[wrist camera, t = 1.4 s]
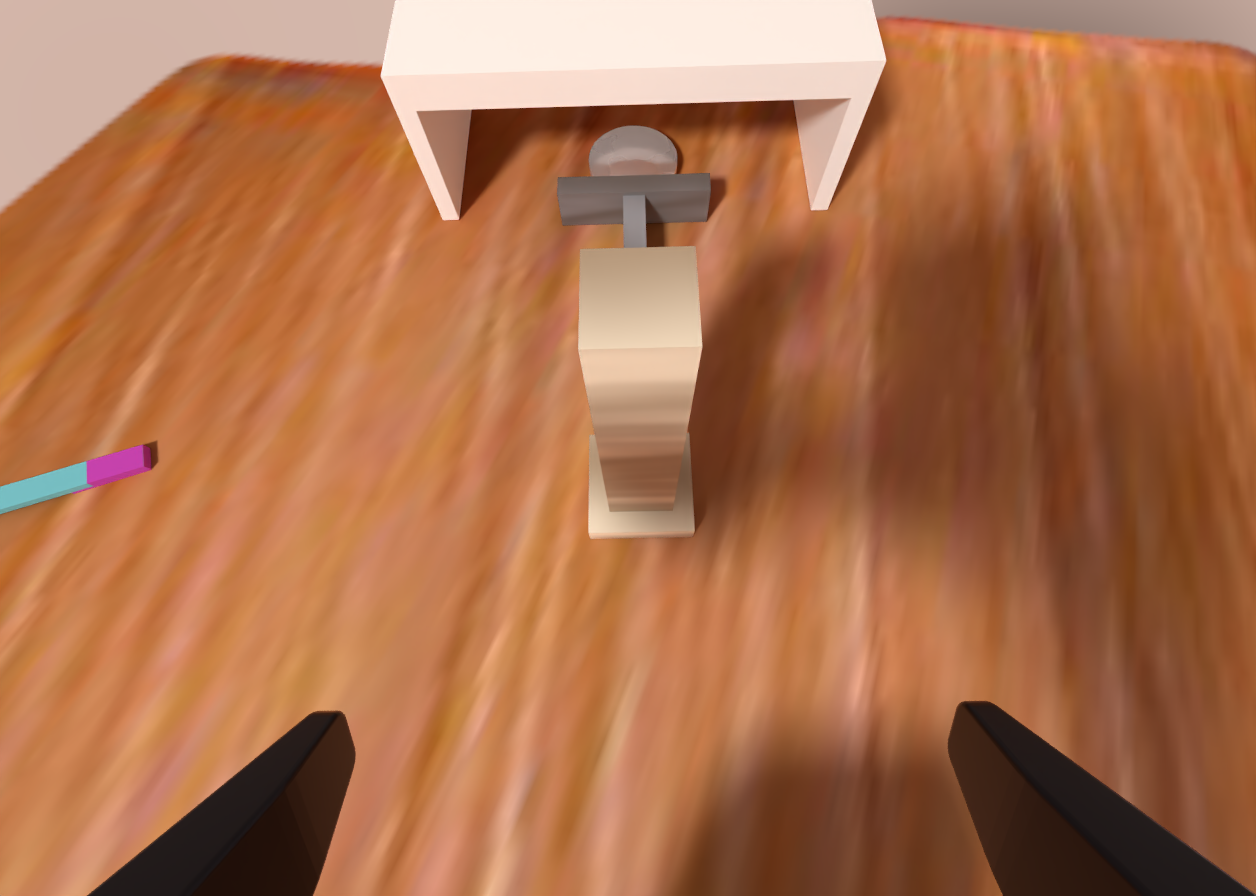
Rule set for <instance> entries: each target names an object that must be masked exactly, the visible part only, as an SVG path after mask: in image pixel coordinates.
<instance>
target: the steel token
mask: <svg viewBox="0 0 1256 896" xmlns="http://www.w3.org/2000/svg"><path fill="white" fill-rule="evenodd" d="M589 167H590V175H591V176H626V175H661V174H676V172H677V152H676V149H675V147H674V145H673V143H672V142H671V141H670V140H669V139H668V138H667V137H666V136H665V135H664V134H662V133H661V132H659V131H657V130H655V129H652V128H649V127H644V126H624V127H619V128H616V129H613V130H611V131H609V132H607V133H605V134H604V135H602V136H601V137H600V138H599V139H598V140H597V141H596V142H595V143H594V145H593V146H592V149H591V151H590V154H589Z"/></svg>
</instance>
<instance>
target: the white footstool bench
mask: <svg viewBox="0 0 1256 896" xmlns="http://www.w3.org/2000/svg"><path fill="white" fill-rule="evenodd" d="M885 63H886V57H885V53H884V49H883V45H882V41H881V37H880V33H879V29H878V25H877V21H876V17H875V13H874V8H873V4H872V0H395V5H394V10H393V16H392V20H391V25H390V31H389V36H388V41H387V46H386V51H385V57H384V62H383V67H382V72H381V78H382V80H383V82H384V85H385V87H386V89H387V92H388V94H389V96H390V99H391V101H392V103H393V106H394V108H395V110H396V113H397V115H398V117H399V119H400V122H401V124H402V126H403V129H404V131H405V133H406V136H407V138H408V140H409V143H410V145H411V147H412V150H413V152H414V154H415V156H416V159H417V161H418V163H419V166H420V168H421V170H422V173H423V175H424V177H425V180H426V182H427V184H428V187H429V189H430V191H431V193H432V196H433V198H434V200H435V203H436V205H437V207H438V210H439V212H440V214H441V217H442V219H443V220H459V217H460V209H461V200H462V191H463V182H464V173H465V164H466V155H467V146H468V137H469V128H470V119H471V110H472V109H502V108H536V107H570V106H603V105H637V104H671V103H704V102H738V101H772V100H793V101H794V108H795V114H796V120H797V126H798V133H799V139H800V145H801V151H802V158H803V164H804V170H805V177H806V183H807V189H808V195H809V202H810V208H811V210H827V209H828V207H829V204H830V202H831V199H832V197H833V194H834V192H835V189H836V187H837V184H838V182H839V179H840V177H841V174H842V172H843V169H844V166H845V164H846V161H847V159H848V156H849V154H850V151H851V149H852V146H853V144H854V141H855V139H856V136H857V134H858V131H859V128H860V126H861V123H862V121H863V118H864V116H865V113H866V111H867V108H868V106H869V103H870V101H871V98H872V96H873V93H874V90H875V88H876V85H877V83H878V80H879V78H880V75H881V73H882V70H883V68H884V65H885Z"/></svg>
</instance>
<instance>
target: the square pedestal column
mask: <svg viewBox="0 0 1256 896" xmlns="http://www.w3.org/2000/svg"><path fill="white" fill-rule="evenodd" d="M710 194H711V184H710V173H697V174H661V175H626V176H590V177H558V186H557V196H558V202H559V207H560V213H561V219H562V225H596V224H624V248H604V249H580V285H579V339H578V351H579V356H580V361H581V366H582V371H583V376H584V382H585V387H586V392H587V397H588V402H589V408H590V413H591V418H592V423H593V428H594V433H595V435H589V536H590V538H591V539H609V538H662V537H693V535H694V532H695V526H694V508H693V490H692V472H691V454H690V436H689V433H687V429H688V423H689V418H690V412H691V407H692V401H693V396H694V390H695V385H696V379H697V374H698V368H699V362H700V357H701V351H702V334H701V319H700V304H699V290H698V275H697V261H696V246H680V247H647V245H646V223H671V222H707V215H708V208H709V201H710Z"/></svg>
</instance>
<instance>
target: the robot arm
mask: <svg viewBox="0 0 1256 896" xmlns="http://www.w3.org/2000/svg"><path fill="white" fill-rule="evenodd" d="M948 753H949V757H950V760H951V763H952V766H953V768H954V771H955V774H956V776H957V779H958V782H959V785H960V787H961V790H962V793H963V795H964V798H965V801H966V803H967V806H968V809H969V812H970V814H971V817H972V820H973V822H974V825H975V828H976V830H977V833H978V836H979V839H980V841H981V844H982V847H983V849H984V852H985V855H986V857H987V860H988V862H989V865H990V867H991V870H992V872H993V875H994V877H995V879H996V881H997V883H998V886H999V888H1000V890H1001V892H1002V894H1003V896H1256V894H1254V893H1253V892H1252V891H1250V890H1249V889H1248V888H1246V887H1245V886H1243V885H1242V884H1241V883H1239V882H1238V881H1237V880H1235V879H1234V878H1232V877H1231V876H1230V875H1228V874H1227V873H1226V872H1224V871H1223V870H1222V869H1220V868H1219V867H1217V866H1216V865H1215V864H1213V863H1212V862H1211V861H1209V860H1208V859H1206V858H1205V857H1204V856H1202V855H1201V854H1200V853H1198V852H1197V851H1195V850H1194V849H1193V848H1191V847H1190V846H1189V845H1187V844H1186V843H1184V842H1183V841H1182V840H1180V839H1179V838H1178V837H1176V836H1175V835H1173V834H1172V833H1171V832H1169V831H1168V830H1167V829H1165V828H1164V827H1162V826H1161V825H1160V824H1158V823H1157V822H1156V821H1154V820H1153V819H1152V818H1150V817H1149V816H1147V815H1146V814H1145V813H1143V812H1142V811H1141V810H1139V809H1138V808H1136V807H1135V806H1134V805H1132V804H1131V803H1130V802H1128V801H1127V800H1125V799H1124V798H1123V797H1121V796H1120V795H1119V794H1117V793H1116V792H1114V791H1113V790H1112V789H1110V788H1109V787H1108V786H1106V785H1105V784H1103V783H1102V782H1101V781H1099V780H1098V779H1097V778H1095V777H1094V776H1092V775H1091V774H1090V773H1088V772H1087V771H1086V770H1084V769H1083V768H1082V767H1080V766H1079V765H1077V764H1076V763H1075V762H1073V761H1072V760H1071V759H1069V758H1068V757H1066V756H1065V755H1064V754H1062V753H1061V752H1060V751H1058V750H1057V749H1055V748H1054V747H1053V746H1051V745H1050V744H1049V743H1047V742H1046V741H1044V740H1043V739H1042V738H1040V737H1039V736H1038V735H1036V734H1035V733H1033V732H1032V731H1031V730H1029V729H1028V728H1027V727H1025V726H1024V725H1022V724H1021V723H1020V722H1018V721H1017V720H1016V719H1014V718H1013V717H1012V716H1010V715H1009V714H1007V713H1006V712H1005V711H1003V710H1002V709H1001V708H999V707H998V706H996V705H995V704H993V703H991V702H988V701H964V702H961V703H960V704H959V705H958V706H957V708H956V712H955V716H954V719H953V723H952V727H951V731H950V735H949V738H948ZM355 756H356V754H355V747H354V743H353V740H352V736H351V733H350V730H349V726H348V723H347V720H346V717H345V715H344V714H343V713H342V712H341V711H316V712H313V713H311V714H309V715H308V716H307V717H305V718H304V719H303V720H302V721H301V722H299V723H298V724H297V725H296V726H294V727H293V728H292V729H291V730H289V731H288V732H287V733H286V734H285V735H283V736H282V737H281V738H280V739H278V740H277V741H276V742H275V743H274V744H272V745H271V746H270V747H269V748H267V749H266V750H265V751H264V752H263V753H261V754H260V755H259V756H258V757H256V758H255V759H254V760H253V761H252V762H250V763H249V764H248V765H247V766H245V767H244V768H243V769H242V770H240V771H239V772H238V773H237V774H236V775H234V776H233V777H232V778H231V779H229V780H228V781H227V782H226V783H225V784H223V785H222V786H221V787H220V788H218V789H217V790H216V791H215V792H214V793H212V794H211V795H210V796H209V797H207V798H206V799H205V800H204V801H203V802H201V803H200V804H199V805H198V806H196V807H195V808H194V809H193V810H192V811H190V812H189V813H188V814H187V815H185V816H184V817H183V818H182V819H180V820H179V821H178V822H177V823H176V824H174V825H173V826H172V827H171V828H169V829H168V830H167V831H166V832H165V833H163V834H162V835H161V836H160V837H158V838H157V839H156V840H155V841H154V842H152V843H151V844H150V845H149V846H147V847H146V848H145V849H144V850H143V851H141V852H140V853H139V854H138V855H136V856H135V857H134V858H133V859H131V860H130V861H129V862H128V863H127V864H125V865H124V866H123V867H122V868H120V869H119V870H118V871H117V872H116V873H114V874H113V875H112V876H111V877H109V878H108V879H107V880H106V881H105V882H103V883H102V884H101V885H100V886H98V887H97V888H96V889H95V890H94V891H92V892H91V893H90V894H89V895H87V896H313V894H314V892H315V889H316V886H317V884H318V881H319V878H320V875H321V872H322V869H323V866H324V863H325V860H326V857H327V854H328V850H329V847H330V844H331V841H332V837H333V834H334V831H335V828H336V824H337V821H338V818H339V814H340V811H341V808H342V805H343V801H344V798H345V795H346V791H347V788H348V785H349V782H350V778H351V775H352V772H353V768H354V764H355Z"/></svg>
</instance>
